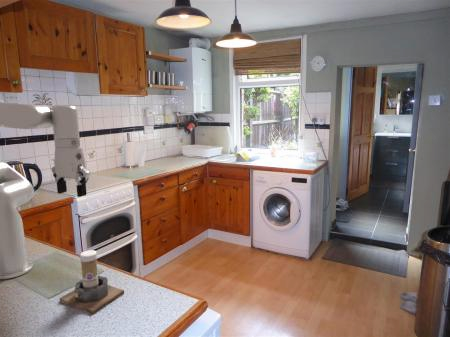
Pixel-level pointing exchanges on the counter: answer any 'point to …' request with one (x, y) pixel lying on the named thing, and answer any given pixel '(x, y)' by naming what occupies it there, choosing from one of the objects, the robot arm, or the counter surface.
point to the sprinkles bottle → (89, 269)
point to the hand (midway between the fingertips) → (72, 194)
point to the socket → (91, 291)
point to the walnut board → (92, 306)
